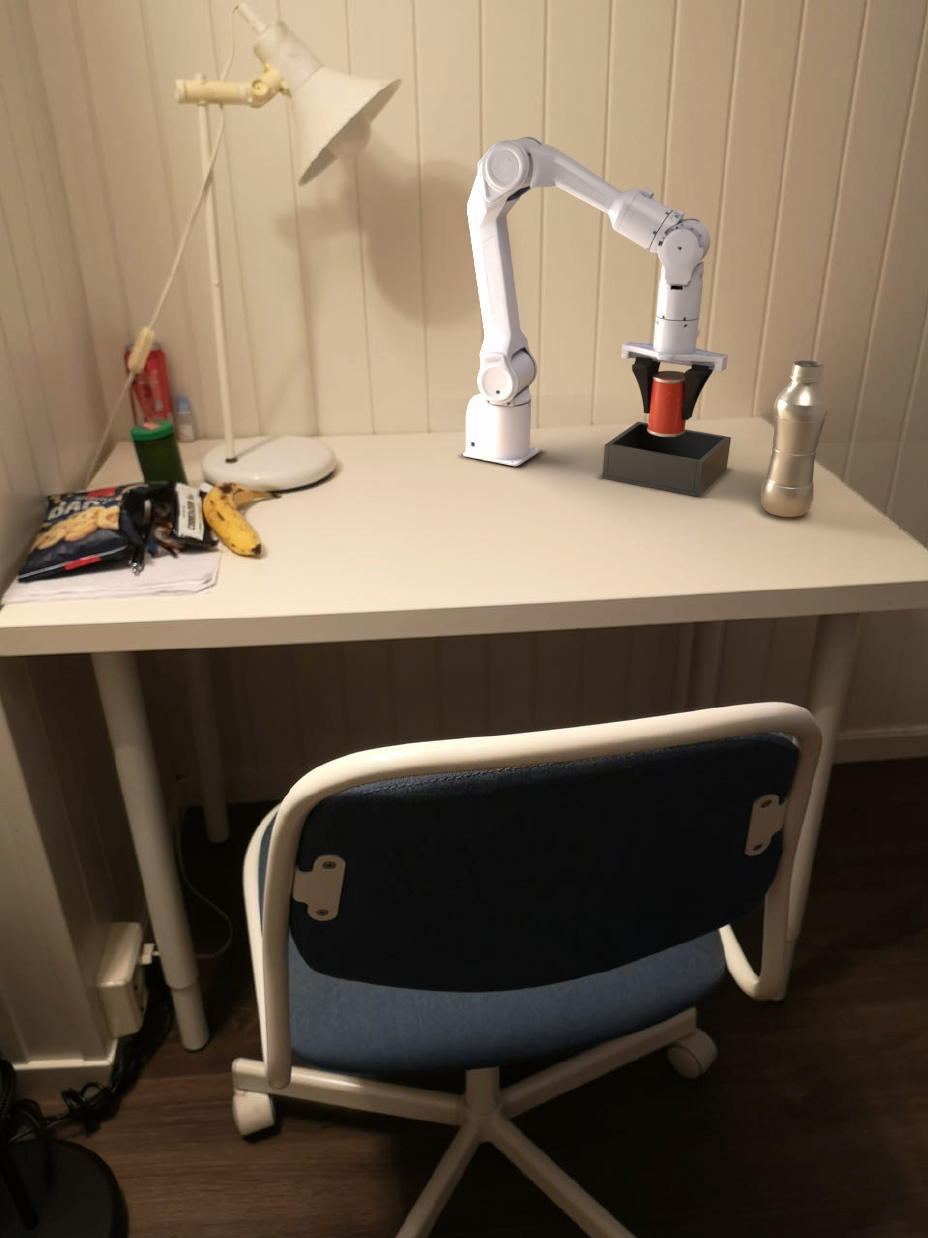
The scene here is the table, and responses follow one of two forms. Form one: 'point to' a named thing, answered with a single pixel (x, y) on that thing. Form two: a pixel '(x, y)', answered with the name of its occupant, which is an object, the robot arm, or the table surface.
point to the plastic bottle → (795, 441)
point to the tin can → (667, 404)
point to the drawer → (666, 459)
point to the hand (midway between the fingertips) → (667, 414)
